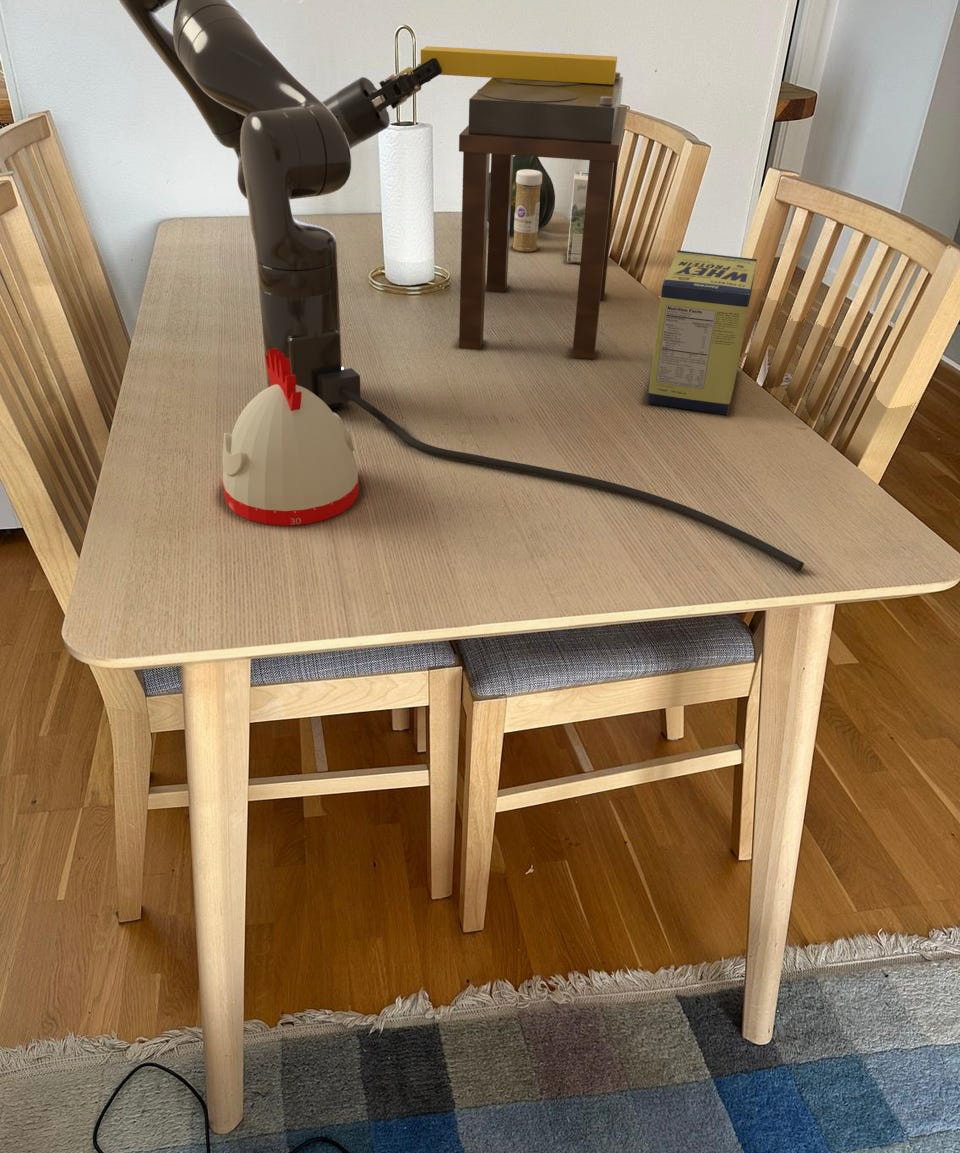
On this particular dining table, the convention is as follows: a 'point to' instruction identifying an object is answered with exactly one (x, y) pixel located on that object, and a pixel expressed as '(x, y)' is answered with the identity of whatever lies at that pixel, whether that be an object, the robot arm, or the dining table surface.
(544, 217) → the squash
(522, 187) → the sprinkles bottle
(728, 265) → the protein box
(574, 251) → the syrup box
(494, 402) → the dining table surface
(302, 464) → the kitchen timer
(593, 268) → the hob stand
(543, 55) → the yellow rectangular bar
